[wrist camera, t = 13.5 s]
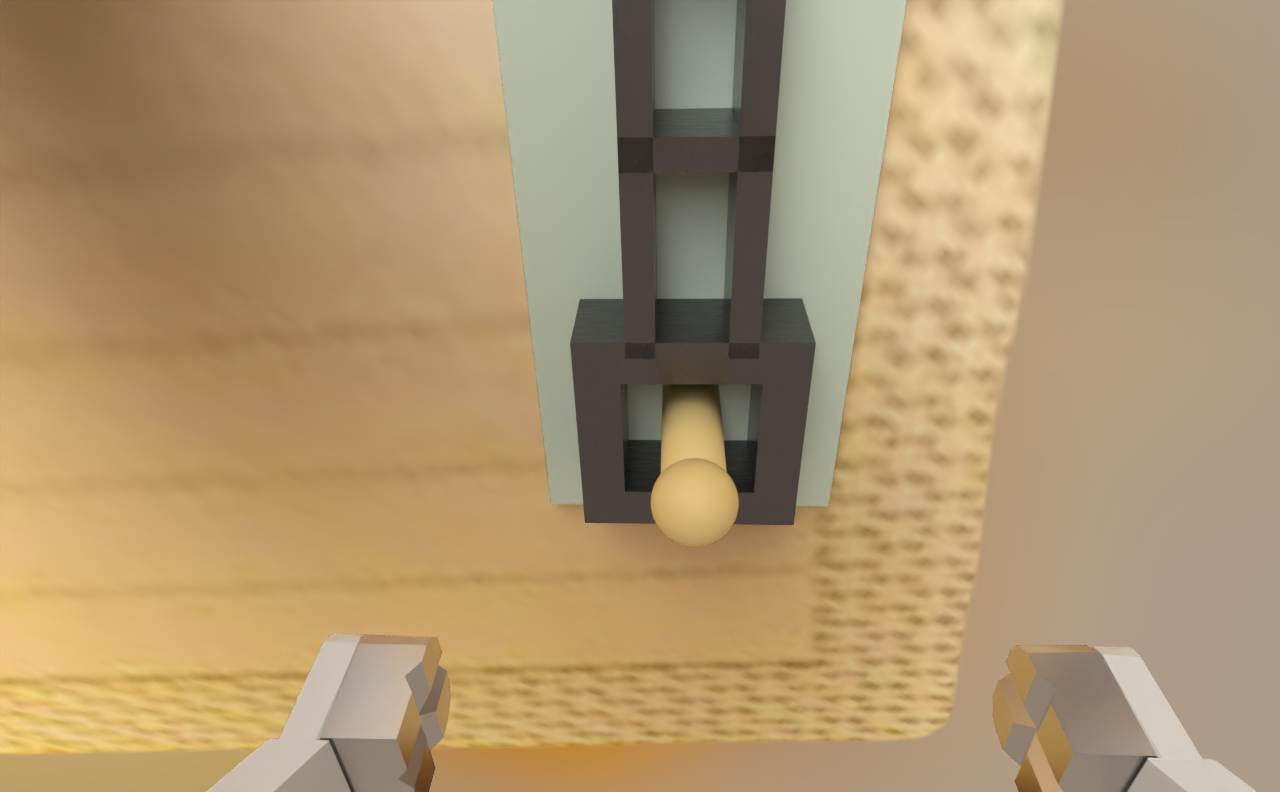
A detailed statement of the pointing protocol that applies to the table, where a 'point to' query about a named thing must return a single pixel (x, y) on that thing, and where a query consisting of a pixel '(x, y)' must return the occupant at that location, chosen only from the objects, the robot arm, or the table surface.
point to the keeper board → (695, 218)
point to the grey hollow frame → (694, 328)
